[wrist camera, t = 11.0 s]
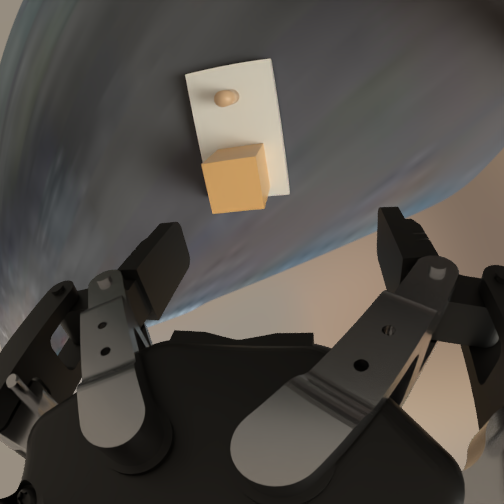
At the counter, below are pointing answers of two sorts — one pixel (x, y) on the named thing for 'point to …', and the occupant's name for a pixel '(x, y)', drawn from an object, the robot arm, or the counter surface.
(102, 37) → the counter surface
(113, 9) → the counter surface
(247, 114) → the base
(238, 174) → the light orange block
